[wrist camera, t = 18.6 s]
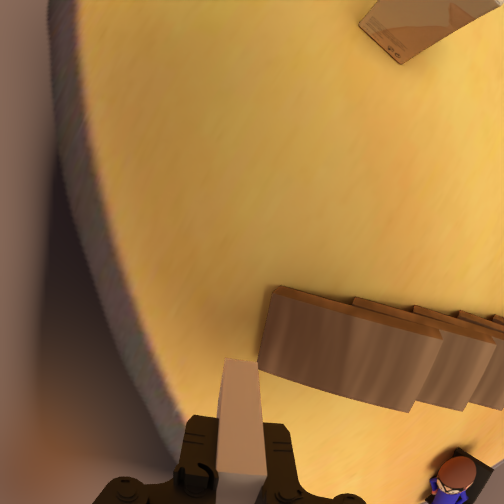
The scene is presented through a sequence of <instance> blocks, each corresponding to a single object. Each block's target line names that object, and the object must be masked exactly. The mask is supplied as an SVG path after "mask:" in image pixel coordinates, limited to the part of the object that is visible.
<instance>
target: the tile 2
mask: <svg viewBox="0 0 504 504" xmlns="http://www.w3.org/2000/svg"><path fill="white" fill-rule="evenodd" d="M352 306H354V307H358V308H362V309H365V310H369V311H372V312H376V313H380V314H383V315H387V316H391V317H395V318H398V319H402V320H406V321H410V322H413V323H417V324H421V325H425V326H429V327H433V328H436V329H439V331H440V333H441V336H442V338H443V343H442V345H441V347H440V350H439V352H438V354H437V357H436V359H435V361H434V363H433V366H432V368H431V370H430V372H429V374H428V376H427V378H426V380H425V382H424V384H423V386H422V388H421V390H420V392H419V394H418V396H417V398H416V401H420V402H424V403H428V404H432V405H436V406H440V407H444V408H449V409H453V410H458V411H462V412H463V410H464V408H465V407H466V405H467V403H468V402H469V400H470V398H471V396H472V394H473V393H474V391H475V389H476V387H477V385H478V383H479V381H480V379H481V377H482V376H483V374H484V372H485V369H486V367H487V365H488V363H489V361H490V359H491V357H492V355H493V352H494V350H495V348H496V346H497V344H496V343H495V341H494V340H493V338H492V337H491V335H488V334H484V333H481V332H477V331H474V330H470V329H466V328H463V327H459V326H456V325H452V324H449V323H445V322H442V321H438V320H435V319H431V318H428V317H424V316H421V315H417V314H414V313H410V312H407V311H403V310H400V309H396V308H393V307H389V306H386V305H382V304H379V303H376V302H372V301H369V300H365V299H362V298H359V297H355V299H354V301H353V303H352Z"/></svg>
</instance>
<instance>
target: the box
mask: <svg viewBox="0 0 504 504" xmlns="http://www.w3.org/2000/svg"><path fill="white" fill-rule="evenodd" d="M503 3H504V0H378V1H377V3H376V4H375V5H374V6H373V7H372V8H371V10H370V11H369V12H368V13H367V15H366V16H365V17H364V18H363V19H362V21H361V22H360V23H359V26H360V27H361V28H362V29H363V30H364V31H365V32H367V33H368V34H369V35H370V36H371V37H372V38H373V39H374V40H375V41H376V42H377V43H378V44H379V45H381V46H382V47H383V48H384V49H385V50H386V51H387V52H388V53H389V54H390V55H391V56H392V57H393V58H394V59H395V60H396V61H398V62H399V63H400V64H403V63H405V62H406V61H408V60H409V59H411V58H412V57H414V56H416V55H417V54H419V53H420V52H422V51H423V50H425V49H427V48H428V47H430V46H432V45H433V44H435V43H436V42H438V41H440V40H441V39H443V38H445V37H446V36H448V35H449V34H451V33H453V32H455V31H456V30H458V29H460V28H461V27H463V26H465V25H467V24H468V23H470V22H472V21H474V20H475V19H477V18H479V17H481V16H483V15H484V14H486V13H488V12H490V11H492V10H494V9H496V8H498V7H500V6H501V5H502V4H503Z"/></svg>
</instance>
